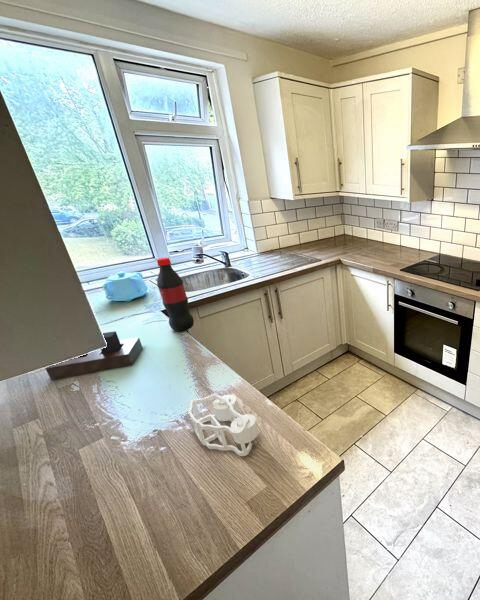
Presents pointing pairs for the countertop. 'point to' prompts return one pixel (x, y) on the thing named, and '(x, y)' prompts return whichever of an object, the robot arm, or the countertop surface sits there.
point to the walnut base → (97, 361)
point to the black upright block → (111, 342)
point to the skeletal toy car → (224, 410)
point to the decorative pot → (124, 286)
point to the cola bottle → (174, 296)
